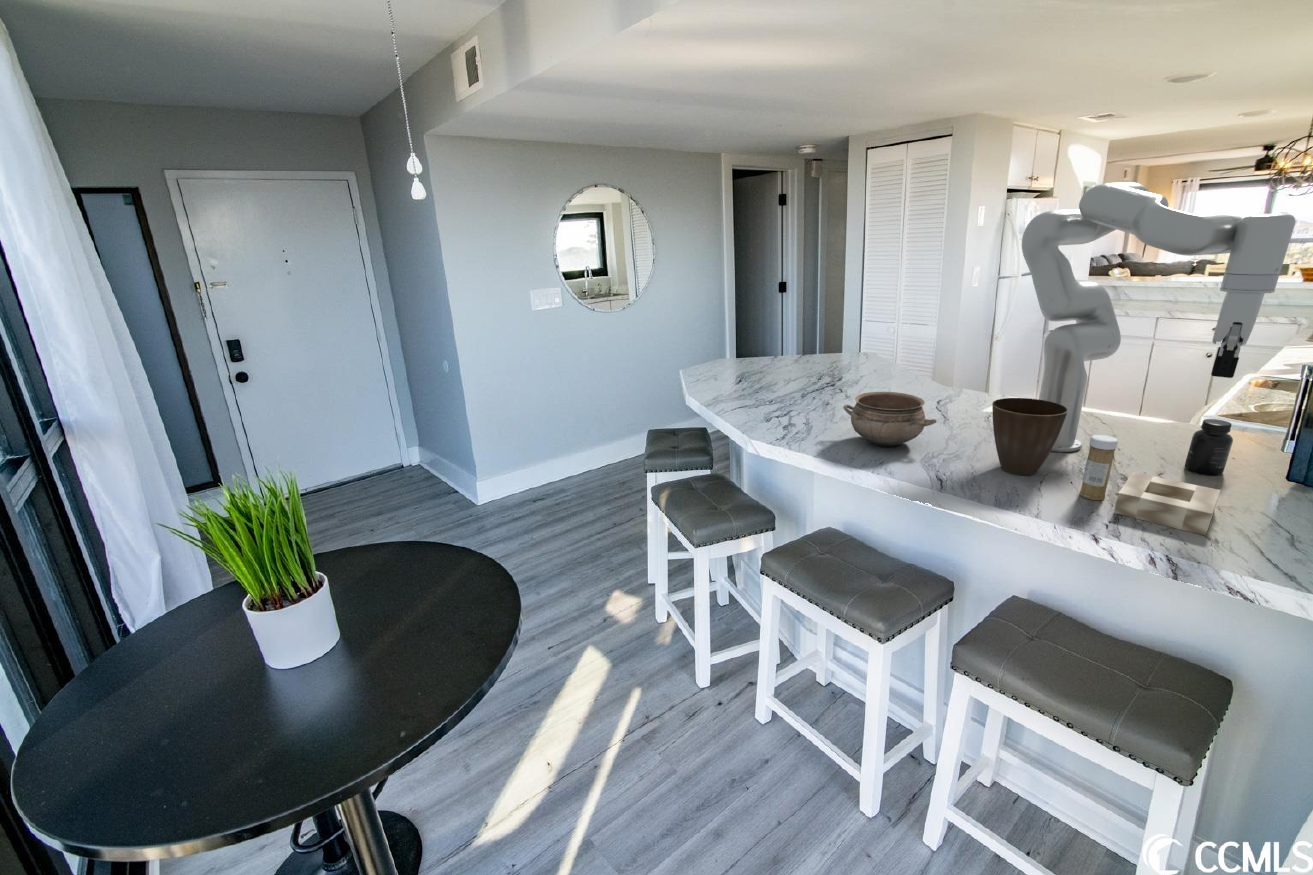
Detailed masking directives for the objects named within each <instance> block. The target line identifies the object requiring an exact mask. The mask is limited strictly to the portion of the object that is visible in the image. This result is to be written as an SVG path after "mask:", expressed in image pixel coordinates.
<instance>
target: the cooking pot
mask: <svg viewBox="0 0 1313 875" xmlns="http://www.w3.org/2000/svg"><path fill="white" fill-rule="evenodd" d="M854 400H855V404H854V406H852V405H849V404H844V406H843V410H844V411H845V413H847V414H848V415H849V416H850V423H851V426H852V428H853V430H854V431H855V432H856V433H857V434H858V435H859V436H860V437H862V438H863V439H865V440H866V441H868V442H871V443H872V444H873V445H875V446H878V447H884V448H892V447H897V446H898V445H902V444H904V443H907V442H910V441H911V440H914V439H916V438H917V437H918V436H919V435H920V434H922V432H923V431H924V428H925V427H929V426H931V425H934V424H936V423H937V422H938V420H937V419H936V418H932V419H928V418H926V415H925V411H924V408H923V406H924V405H925V401H924V399H923V398H921V397H919V396H917V395H913V394H909V393H904V392H897V391H895V392H894V391H871V392H864V393H861V394H858V395H856V396H855V398H854Z"/></svg>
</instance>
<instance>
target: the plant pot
mask: <svg viewBox="0 0 1313 875" xmlns="http://www.w3.org/2000/svg"><path fill="white" fill-rule="evenodd" d="M991 407H992V427H993V429H992V430H993V437H994V443H995V448H996V452H997V456H998V458H997V459H998V461H999V464H1000V468H1001V470H1003V471H1004V472H1006V473H1008V474H1012V475H1015V476H1033V475H1036V474H1037V473H1038V472H1039V470H1040V469H1041V467H1042V466H1043V464H1044V463H1045V461H1046V460H1047V458H1048V456H1049V455H1050V453H1051V452H1052V451H1051V449H1052V447H1053V446H1054V444H1055V442H1056V440H1057V437H1058V435H1059V433H1060V431H1061V428H1062V426H1063V423H1064V420H1065V418H1066V415H1067V412H1068V409H1067V408H1066V407H1065V406H1063V405H1060V404H1057V403H1054V402H1050V401H1045V400H1039V398H1038V399H1037V398H1028V397H1027V398H1026V397H1006V398H1000V399H996V400H993V402H992V406H991Z"/></svg>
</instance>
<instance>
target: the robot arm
mask: <svg viewBox="0 0 1313 875" xmlns="http://www.w3.org/2000/svg"><path fill="white" fill-rule="evenodd" d="M1295 225H1296V217H1294V215H1293V214H1290V213H1263V214H1261V213H1260V214H1258V213H1257V214H1243V213H1210V214H1209V213H1207V214H1194V213H1189V212H1186V211H1182V210H1177V209H1174V208H1170V207H1169V202H1168V199H1167V198H1166V197H1165V196H1164V195H1162V194H1157V193H1153V192H1150V191H1149V190H1148V188H1146V187H1145V186H1144V185H1143V184H1140V183H1138V182H1107V183H1106V182H1105V183H1101V184H1097V185H1095V186H1092V187H1091V188H1089V189H1088V190H1086V191H1085V193H1084V194H1083V195H1082V196H1081V198H1080V201H1079V202H1078V208H1073V209H1071V208H1069V209H1055V210H1049V211H1045V212H1042V213H1039V214H1037V215H1035V217H1033V218H1032V219H1031V220H1030V221H1029V223H1027V226H1026V227H1025V229H1024V231H1023V234H1022V239H1021V251H1022V252H1021V253H1022V256H1023V258H1024V260H1025V261H1024V262H1025V264H1026V265H1027V268H1028V270H1029V273H1030V276H1031V280H1032V283H1033V286H1034V291H1035V294H1036V298H1037V302H1038V305H1039V308H1040V311H1041V314H1042V316H1043V318H1045V320H1047V321H1050V322H1054V323H1055V322H1069V321H1072V322H1073V321H1075V323H1072V324H1071V323H1070V324H1063V325H1061V326H1057V327H1055V328H1054V329H1052V330H1051V331H1050V332H1049V333H1048V334H1047V336H1046V337H1045V338H1044V342H1043V372H1042V378H1041V379H1042V380H1041V384H1040V390H1039V397H1038V399H1039V400H1045V401H1050V402H1054V403H1057V404H1060V405H1063V406H1065V407H1066V408H1067V409H1068V412H1067V415H1066V418H1065V420H1064V423H1063V426H1062V428H1061V431H1060V433H1059V435H1058V437H1057V440H1056V442H1055V444H1054V446H1053V447H1052V449H1051V451H1050V452H1057V453H1058V452H1059V453H1071V452H1076V451H1080V449H1081V448H1082V445H1083V444H1082V442H1081V441H1080V440H1078V439H1076V438H1077V434H1078V428H1079V424H1080V423H1079V422H1080V418H1081V413H1082V408H1083V404H1084V398H1085V394H1086V388H1087V384H1088V375H1087V374H1088V373H1087V370H1086V367H1085V362H1087V361H1088V362H1089V361H1097V360H1103V359H1104V360H1105V359H1107V358H1110V357H1111V356H1113V355H1115V353H1116V352H1117V351H1118V350H1119V348H1120V346H1121V340H1122V336H1121V331H1120V330H1121V329H1120V326H1119V323H1118V320H1117V316H1116V313H1115V309H1114V306H1113V303H1112V299H1111V296H1110V295H1109V292H1108V291H1107V290H1106V288H1105V287H1104V286H1102V285H1101V284H1100V283H1098V282H1094V281H1077V280H1076V278H1075V275H1074V273H1073V269H1072V265H1071V263H1070V261H1069V259H1068V257H1067V256H1066V255H1065V254H1064V253H1063V252H1062V251H1061V250H1060V249H1059V246H1070V245H1071V246H1074V245H1084V244H1088V243H1089V244H1090V243H1091V242H1094V241H1096V240H1099V239H1100V238H1103V237H1104V236H1106V235H1108V234H1111V233H1112V232H1114V231H1116V230H1118V231H1121V232H1124V233H1127V234H1130V235H1133V236H1135V238H1136V239H1137V240H1139V241H1140V242H1142V243H1143V244H1145V245H1147V246H1149V247H1151V248H1152V247H1153V248H1156V249H1159V250H1161V251H1165V252H1168V253H1171V254H1176V255H1178V256H1179V255H1180V256H1189V257H1191V256H1202V255H1222V254H1223V255H1224V254H1229V256H1228V258H1227V264H1226V267H1225V270H1224V274H1223V277H1222V281H1221V285H1220V289H1219V291H1220V292H1223V293H1224V292H1225V296H1224V299H1223V302H1222V305H1221V306H1220V307H1221V308H1220V311H1219V314H1218V319H1217V323H1216V326H1215V329H1214V332H1213V336H1212V340H1211V342H1212V344H1214V345H1216V344H1217V343H1219V342H1220V346H1218V350H1217V351H1216V355H1215V359H1214V362H1213V367H1212V370H1211V374H1210V375H1211V376H1212V377H1216V378H1217V377H1218V378H1219V377H1220V378H1227V379H1232V378H1234V376H1235V373H1236V370H1237V366H1238V363H1239V359H1240V356H1239V354H1240V351H1241V347H1243V346H1246V344H1247V343H1248V340H1249V338H1250V336H1251V334H1252V332H1253V329H1254V327H1255V324H1256V321H1257V318H1258V316H1259V312H1260V309H1261V306H1262V303H1263V299H1264V298H1265V297H1264V296H1265V294H1272V293H1275V291H1276V287H1277V284H1278V281H1279V278H1280V274H1281V270H1282V268H1283V264H1284V261H1285V259H1286V255H1287V251H1288V248H1289V245H1290V242H1291V239H1292V236H1293V232H1294V228H1295Z"/></svg>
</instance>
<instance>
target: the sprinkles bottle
mask: <svg viewBox="0 0 1313 875" xmlns="http://www.w3.org/2000/svg"><path fill="white" fill-rule="evenodd" d="M1118 443H1119V441H1118V438H1116V437H1114V436H1111V435H1105V434H1095V435H1091V437H1090V440H1089V450H1088V456H1087V458H1086V463H1085V468H1084V472H1083V476H1082V484H1081V488H1080V491H1079V495H1080V496H1081V497H1082V498H1085V499H1087V500H1091V501H1103V500H1104V499H1105V498H1106V492H1107V488H1108V485H1109V481H1110V476H1111V470H1112V469H1111V468H1112V465H1113V460H1114V455H1115V452H1116V450H1117V448H1118Z"/></svg>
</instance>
